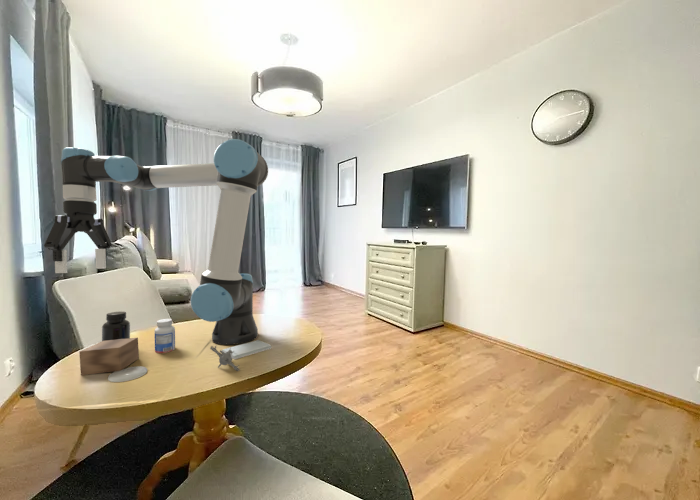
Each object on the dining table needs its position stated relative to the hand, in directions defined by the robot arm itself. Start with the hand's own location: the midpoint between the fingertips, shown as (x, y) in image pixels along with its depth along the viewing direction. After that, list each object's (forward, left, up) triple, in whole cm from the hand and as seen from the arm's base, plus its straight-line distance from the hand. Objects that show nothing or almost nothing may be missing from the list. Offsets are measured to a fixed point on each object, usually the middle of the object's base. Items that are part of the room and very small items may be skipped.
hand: (82, 270), depth 91 cm
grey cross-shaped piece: (-48, +12, -25) cm, 55 cm away
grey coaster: (-26, +17, -25) cm, 40 cm away
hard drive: (-50, -1, -26) cm, 56 cm away
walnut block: (-18, +12, -25) cm, 32 cm away
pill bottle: (-25, 0, -25) cm, 35 cm away
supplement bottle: (-10, 0, -25) cm, 27 cm away
